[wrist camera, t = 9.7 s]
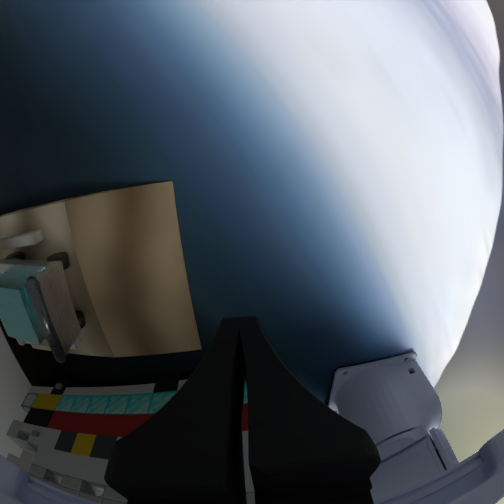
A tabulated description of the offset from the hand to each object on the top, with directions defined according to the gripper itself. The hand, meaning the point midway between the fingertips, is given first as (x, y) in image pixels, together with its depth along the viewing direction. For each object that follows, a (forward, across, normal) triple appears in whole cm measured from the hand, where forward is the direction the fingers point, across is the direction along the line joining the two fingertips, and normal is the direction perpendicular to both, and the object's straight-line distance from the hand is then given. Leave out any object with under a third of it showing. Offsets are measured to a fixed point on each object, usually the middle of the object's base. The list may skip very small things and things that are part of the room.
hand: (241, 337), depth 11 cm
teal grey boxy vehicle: (+8, +16, +2) cm, 18 cm away
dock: (+10, +14, +2) cm, 17 cm away
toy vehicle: (+10, +13, +17) cm, 24 cm away
